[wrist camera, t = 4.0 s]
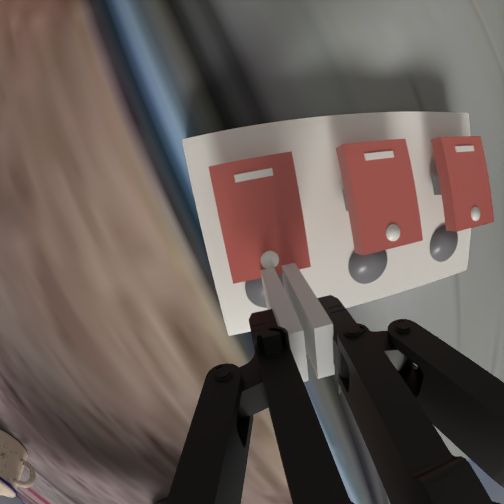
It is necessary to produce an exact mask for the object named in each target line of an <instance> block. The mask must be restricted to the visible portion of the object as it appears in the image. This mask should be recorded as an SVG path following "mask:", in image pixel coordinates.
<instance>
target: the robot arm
mask: <svg viewBox="0 0 504 504" xmlns="http://www.w3.org/2000/svg"><path fill="white" fill-rule="evenodd" d="M260 271H261V276H262V284H263V289H264V295H265V301H266V306H267V310H264V311H260V312H255V313H252V314H251V316H250V318H249V324H250V329H251V334H252V339H253V344H254V349H255V355H254V357H253V359H252V360H251V361H250V362H249V363H247V364H245V365H244V366H241V367H238V366H236V365H233V364H220V365H218V366H215V367H214V368H212V369H211V370H210V371H209V372H208V374H207V376H206V379H205V382H204V385H203V388H202V391H201V394H200V397H199V401H198V404H197V407H196V410H195V413H194V416H193V419H192V423H191V426H190V429H189V432H188V435H187V438H186V441H185V445H184V448H183V451H182V454H181V457H180V460H179V464H178V467H177V470H176V473H175V476H174V479H173V483H172V486H171V489H170V492H169V495H168V498H167V499H164V500H161V501H159V502H157V503H156V504H240V503H241V497H242V491H243V484H244V478H245V471H246V464H247V457H248V451H249V444H250V437H251V430H252V423H253V414H256V413H258V412H260V411H262V410H264V409H266V408H268V407H269V411H270V415H271V419H272V423H273V427H274V431H275V436H276V440H277V444H278V448H279V452H280V456H281V460H282V464H283V468H284V471H285V475H286V479H287V483H288V487H289V491H290V495H291V499H292V503H293V504H354V503H353V502H351V501H350V499H349V497H348V494H347V492H346V489H345V487H344V484H343V482H342V479H341V477H340V474H339V471H338V469H337V466H336V464H335V461H334V459H333V456H332V454H331V451H330V448H329V446H328V443H327V441H326V438H325V436H324V433H323V431H322V428H321V425H320V423H319V420H318V418H317V415H316V413H315V410H314V408H313V405H312V403H311V400H310V397H309V395H308V392H307V390H306V387H305V385H304V382H306V381H308V371H307V360H306V352H307V354H308V357H309V359H310V361H311V364H312V366H313V369H314V371H315V373H316V376H317V378H318V379H319V378H323V377H327V376H330V375H334V374H335V367H336V369H337V371H338V393H339V394H340V393H341V388H342V391H343V393H344V395H345V397H346V400H347V402H348V404H349V406H350V409H351V411H352V413H353V416H354V418H355V420H356V422H357V425H358V427H359V429H360V432H361V434H362V436H363V439H364V441H365V443H366V446H367V448H368V450H369V453H370V455H371V457H372V460H373V462H374V464H375V467H376V469H377V471H378V474H379V476H380V479H381V481H382V483H383V486H384V488H385V491H386V493H387V495H388V498H389V500H390V503H391V504H500V503H496V502H492V501H491V499H490V497H489V496H488V494H487V492H486V490H485V489H484V487H483V485H482V483H481V482H480V480H479V479H478V477H477V475H476V473H475V472H474V470H473V469H472V467H471V465H470V464H469V462H468V461H467V460H466V459H465V458H463V457H461V456H459V457H455V456H453V455H452V454H451V453H450V451H449V450H448V448H447V447H446V445H445V443H444V442H443V440H442V438H441V437H440V435H439V434H438V432H437V430H436V429H435V427H436V428H438V429H439V430H440V431H441V432H442V433H443V434H444V435H445V436H446V437H447V438H448V439H449V440H451V441H452V442H453V443H454V444H455V445H456V446H457V447H458V448H459V449H460V450H461V451H463V452H464V453H465V454H466V455H467V456H468V457H469V458H470V459H471V460H472V461H473V462H475V463H476V464H477V465H478V466H479V467H480V468H481V469H482V470H483V471H484V472H485V473H487V474H488V475H489V476H490V477H491V478H492V479H493V480H494V481H496V482H497V483H498V484H500V485H501V486H502V487H504V383H503V382H502V381H500V380H499V379H498V378H496V377H495V376H493V375H492V374H490V373H489V372H488V371H486V370H485V369H483V368H482V367H480V366H479V365H477V364H476V363H475V362H473V361H472V360H470V359H469V358H467V357H466V356H464V355H463V354H461V353H460V352H458V351H457V350H455V349H454V348H453V347H451V346H450V345H448V344H447V343H445V342H444V341H442V340H441V339H439V338H438V337H436V336H435V335H433V334H432V333H430V332H429V331H427V330H426V329H424V328H423V327H421V326H420V325H418V324H417V323H415V322H413V321H411V320H407V319H399V320H396V321H393V322H392V323H390V324H389V326H388V331H379V332H372V331H370V330H369V329H368V328H367V327H366V326H365V325H362V324H358V323H356V322H355V321H354V319H353V318H352V316H351V315H350V314H349V312H348V311H347V310H346V308H345V307H344V306H343V304H342V303H341V302H340V300H339V299H338V298H336V297H334V296H332V295H328V296H324V297H320V298H317V297H316V295H315V294H314V292H313V291H312V289H311V288H310V286H309V284H308V283H307V281H306V280H305V278H304V276H303V275H302V273H301V272H300V270H299V269H298V267H297V265H296V264H295V263H291V264H286V265H282V272H283V273H282V276H283V283H284V288H283V286H282V283H281V281H280V279H279V277H278V275H277V273H276V271H275V269H274V268H270V269H263V270H260ZM413 363H415V364H416V365H417V366H418V367H417V366H415V365H414V364H413ZM433 425H434V426H435V427H434V426H433Z"/></svg>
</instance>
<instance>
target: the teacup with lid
mask: <svg viewBox="0 0 504 504" xmlns="http://www.w3.org/2000/svg"><path fill="white" fill-rule="evenodd" d="M27 458H28V454H27V451H26V450H25V448H24V447H23V446H22V445H21V444H20V443H19V442H18V441H17V440H16V439H15V438H13V437H12V436H11V435H9V434H8V433H6V432H5V431H3V430H1V429H0V495H4V496H7V497H15V496H16V495H17V492H16V490H17V487H18V486H20V487H24V488H28V487H31V486H33V484H34V483H35V480H36V474H35V471H34V468H33V467H32V466H31V464H30V463H28V462H27ZM24 466H27V467H28V468H29V469H30V478H29V480H28V481H26V482H21V481H20V478H21V475H22V472H23V469H24Z"/></svg>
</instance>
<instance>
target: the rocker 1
mask: <svg viewBox="0 0 504 504" xmlns="http://www.w3.org/2000/svg"><path fill="white" fill-rule="evenodd" d="M209 172H210V177H211V182H212V187H213V192H214V197H215V202H216V206H217V211H218V216H219V221H220V226H221V230H222V235H223V240H224V244H225V249H226V254H227V258H228V263H229V267H230V272H231V276H232V281H233V284H235V283H240V282H245V281H249V280H254V279H259V278H262V276H261V271H260V270H263V269H270V268H274V269H275V271H276V273H277V274H282V273H283V272H282V265H286V264H291V263H295V264H296V265H297V267H298V269H299V270H300V269H304V268H308V267H311V265H310V258H309V251H308V244H307V238H306V231H305V225H304V219H303V212H302V206H301V201H300V195H299V189H298V183H297V178H296V172H295V167H294V161H293V156H292V151H291V152H285V153H278V154H272V155H266V156H261V157H255V158H249V159H244V160H239V161H233V162H228V163H223V164H218V165H214V166H209Z"/></svg>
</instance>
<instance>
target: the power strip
mask: <svg viewBox="0 0 504 504" xmlns="http://www.w3.org/2000/svg"><path fill="white" fill-rule="evenodd" d="M452 136H471V134H470V123H469V114H468V113H457V112H375V113H356V114H342V115H330V116H320V117H310V118H301V119H293V120H285V121H278V122H271V123H264V124H258V125H252V126H246V127H240V128H234V129H229V130H224V131H219V132H214V133H209V134H204V135H199V136H195V137H190V138H186V139H182V142H183V147H184V152H185V157H186V162H187V166H188V171H189V176H190V180H191V185H192V190H193V194H194V199H195V203H196V207H197V212H198V216H199V221H200V225H201V229H202V233H203V238H204V242H205V246H206V250H207V254H208V258H209V262H210V266H211V270H212V274H213V278H214V282H215V286H216V290H217V294H218V298H219V302H220V306H221V309H222V313H223V317H224V321H225V324H226V328H227V332H228V335H229V336H230V335H235V334H240V333H245V332H250V331H251V329H250V324H249V318H250V316H251V314H252V313H255V312H260V311H264V310H267V306H266V301H265V295H264V289H263V284H262V278H259V279H254V280H249V281H245V282H240V283H235V284H233V281H232V276H231V272H230V267H229V263H228V258H227V254H226V249H225V244H224V240H223V235H222V230H221V226H220V221H219V216H218V211H217V206H216V202H215V197H214V192H213V187H212V182H211V177H210V172H209V166H214V165H218V164H223V163H228V162H233V161H239V160H244V159H249V158H255V157H261V156H266V155H272V154H278V153H285V152H291V151H292V156H293V161H294V167H295V172H296V178H297V183H298V189H299V195H300V201H301V206H302V212H303V219H304V225H305V231H306V238H307V244H308V251H309V258H310V265H311V267H308V268H304V269H300V272H301V273H302V275H303V276H304V278H305V280H306V281H307V283H308V284H309V286H310V288H311V289H312V291H313V292H314V294H315V295H316V297H317V298H320V297H324V296H328V295H332V296H334V297H336V298H338V299H339V300H340V302H341V303H342V304H343V306H344V307H345V308H349V307H352V306H356V305H359V304H363V303H366V302H370V301H373V300H377V299H380V298H383V297H387V296H390V295H393V294H396V293H400V292H403V291H406V290H409V289H412V288H415V287H419V286H422V285H425V284H428V283H431V282H434V281H437V280H439V279H442V278H445V277H448V276H451V275H454V274H457V273H459V272H462V271H465V270H467V265H468V256H469V246H470V235H471V228H469V229H465V230H461V231H458V232H454V231H446V225H445V217H444V209H443V202H442V195H434V191H433V185H432V179H431V176H436V175H438V172H437V167H436V162H435V157H434V152H433V148H432V143H431V140H432V139H435V138H438V137H452ZM392 139H405V140H406V144H407V148H408V153H409V157H410V162H411V167H412V172H413V177H414V182H415V188H416V194H417V200H418V207H419V213H420V221H421V229H422V237H423V241H419V242H415V243H411V244H407V245H403V246H399V247H395V248H391V249H387V250H383V251H379V252H375V253H371V254H367V255H360V254H357V253H355V250H354V243H353V237H352V230H351V224H350V218H349V213H348V211H346V209H345V203H344V198H343V192H342V189H344V186H343V181H342V176H341V171H340V166H339V161H338V157H337V152H336V148H337V147H339V146H340V145H342V144H349V143H358V142H368V141H379V140H392ZM277 275H278V277H279V279H280V281H281V283H282V286H283V288H284V283H283V276H282V274H277Z"/></svg>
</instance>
